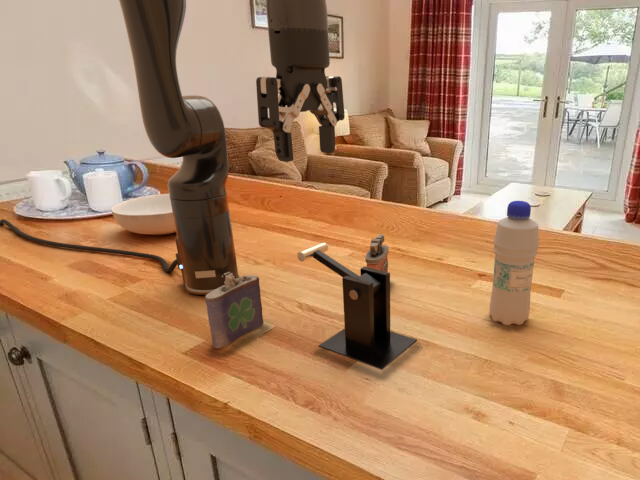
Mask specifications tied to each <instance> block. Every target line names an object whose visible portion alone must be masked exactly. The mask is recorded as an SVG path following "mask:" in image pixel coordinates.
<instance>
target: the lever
mask: <svg viewBox="0 0 640 480" xmlns="http://www.w3.org/2000/svg"><path fill="white" fill-rule="evenodd" d="M328 251H329V246H328V244H327V243H326V242H325V241H323V242H320V243H318V244H315V245H313V246H310V247H308V248H305V249H303V250H301V251H299V252H297V254H296V255H297V259H298V261H300V262H305V261H309V260H310V259H312V258H313V259H314V260H316V261H318V262H319V263H321V264H322V265H323V266H325V267H326V268H328V269H329V270H331V271H333V272H334V273H335V274H337V275H338V276H340V277H341V278H343V277H345V276H350V277H354V278H358V279H362V280H365V281H369V282H373V299H374V298H375V297H377V295H378V292H379V289H380V286H381V282H379V281H378V280H376V279H375V278H373V277H372V276H370V275H368V274H367V273H364V274H363V275H361V274H360V275H358V274H356V273H355V272H353V271H352V270H350V269H349V268H347V267H346V266H344V265H343V264H342V263H340V262H338V261H336V260H335V259H333V258H332V257H331V256H330V255H327V253H326V252H328Z"/></svg>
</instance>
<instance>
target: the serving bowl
mask: <svg viewBox="0 0 640 480" xmlns="http://www.w3.org/2000/svg"><path fill="white" fill-rule="evenodd" d="M110 211H111V215H112V216H113V219H114V220H115V221H116V222H117V224H118V225H119V226H120V227H122V229H125V230H127V231H128V232H131V233H135V234H140V235H150V236H163V235H171V234H174V233H175V234H176V228H175V223H174V217H173V213H172V207H171V202H170V197H169V193H161V194H150V195H144V196H139V197H134V198H130V199H127V200H124V201H122V202H118V203H116V204H115V205H113V206H112V207H111V208H110Z"/></svg>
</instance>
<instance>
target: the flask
mask: <svg viewBox="0 0 640 480" xmlns="http://www.w3.org/2000/svg"><path fill="white" fill-rule="evenodd" d="M229 273H230V272H227V273H224V275H227V274H229ZM222 277H223V275H222ZM225 277H226V279H225V282H224V283H225V285H223V286H221V287H219V288H217V289H215V290H214V291H212V292H210V293H208V294H207V295H204V299H205V305H206V311H207V317H208V325H209V330H210V336H211V342H212V347H213V348H215V349H222V348H223V349H224V348H225V347H228V346H230V344H232V343H233V342H235V341H236V340H238V339H240V337H242V336H244V335H245V334H247V333H250V332H252V331H254V330H256V329H259V328H261V327H263V326H264V317H263V305H262V298H261V287H260V278H259V277H258V275H253V274H248V275H242V276H241V277H239V278H238V279H236V278H234V277H235V276H233V274H232V273H230V274H229V275H227V276H225Z"/></svg>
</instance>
